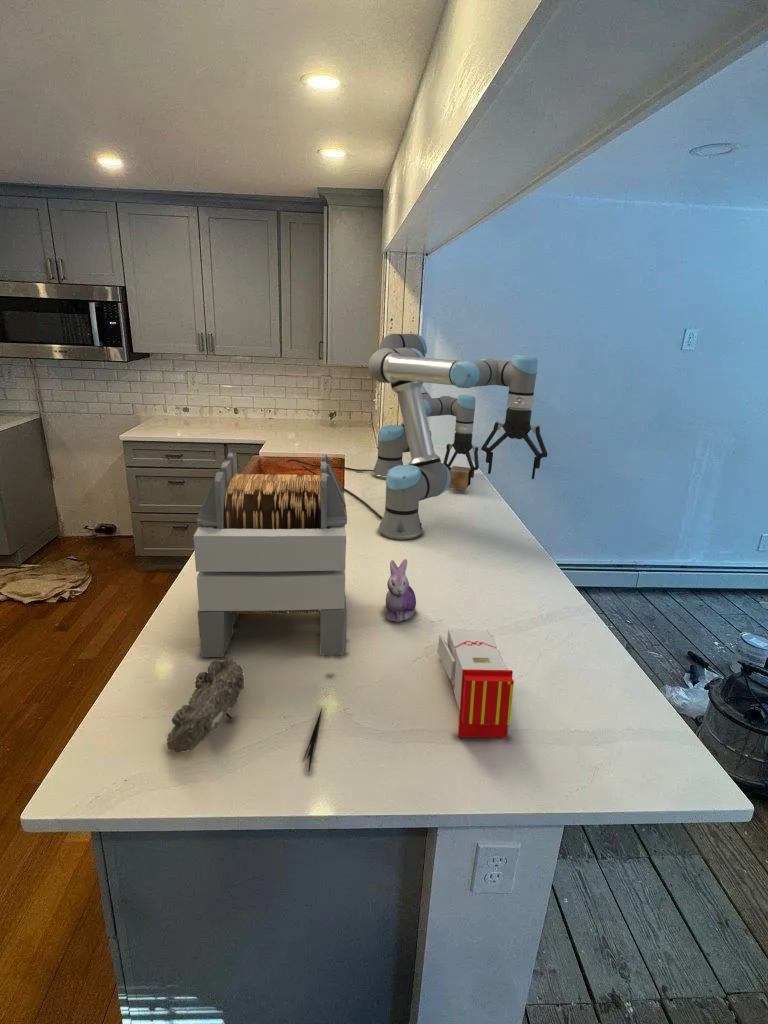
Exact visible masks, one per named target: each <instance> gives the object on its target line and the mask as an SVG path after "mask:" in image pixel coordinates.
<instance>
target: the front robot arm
mask: <svg viewBox="0 0 768 1024" xmlns="http://www.w3.org/2000/svg"><path fill="white" fill-rule="evenodd" d="M538 363H539V362H538V358H537V357H536V356H532V355H520V354H518V355H513V356H512V359H511V361H510V360H509V361H508V360H501V359H494V358H482V359H480V360H461V359H444V358H430V357H425V358H424V356H423V355H422V353H421V352H420V351H418V350H416V349H414V348H407V347H404V348H384V349H380V350H379V349H377V350H376V351H375V352H374V353H372V354H371V356H370V358H369V361H368V371H369V373H370V376H371V377H372V378H373V379H374V380H375V381H376V382H378V383H383V384H390V386H391V391H393V392H395V394H397V395H396V396H397V400H398V404H399V409H400V413H401V418H402V422H404V427H405V431H406V436H407V440H408V445H409V449H410V452H409V454H410V458H411V459H410V461H409V463H408V464H403V465H404V466H403V465H400V466H396V467H393V468H391V469H390V470H389V471H388V473H387V479H385V504H384V505H385V507H384V508H385V509H384V513H383V515H382V516H381V514H380V513H378V512H377V511H376V510H375V509H374V508H373V507H372V506H371V505H369V504H368V503H367V502H366V501H364V500H363V499H362V498H360V497H359V496H357V495H356V494H354V492H352V491H350V490H348V489H346V488H345V487H343V486H341V487H342V489H343V491H344V492H347V494H349V495H351V496H352V497H354V498H355V499H356V500H358V501H360V502H361V503H362V504H363V505H365V507H367V508H368V509H369V510H370V511H371V512H372V513H374V515H376V516H377V517H378V518H379V519H380V520H381V522H379V525H378V533H379V534H380V535H381V536H382V537H385V538H387V539H389V540H395V541H410V540H415V539H418V538H420V537H421V536H422V535H423V523H421V518H420V515H419V507H420V506H419V505H420V501H423V500H426V499H430V498H434V497H438V496H440V495H442V494H444V493H445V492H447V490H448V489H449V488H448V487H449V485H450V480H451V476H450V471H449V469H448V467H446V466H445V464H443V462H442V460H441V456H439V455H437V454H436V453H435V448H434V442H433V439H432V433H431V434H430V431H431V430H430V425H429V421H428V417H427V416H426V411H425V406H424V402H423V397H422V393H421V386H422V385H424V384H434V385H445V386H455V387H456V388H459V389H470V388H475V387H488V386H501V387H505V388H507V387H508V393H507V401H506V406H507V408H506V410H505V417H504V418H505V419H504V423H503V422H499V421H495V422H494V424H493V428H492V431H491V432H490V433H489V435H488V437H487V438H486V440H485V441H484V443H483V444H482V445H481V448H480V450H481V451H482V452H485V453H486V454H485V463H487V464H488V468H487V470H488V471H487V475H491V473H492V469H493V459H494V452H493V451H494V450H495V449H496V448H497V447H498V446H499V445H500V444H501V443H503V441H504V440H506V439H507V438H508V439H510V440H511V439H512V440H513V439H514V440H515V439H517V440H524V442H526V444H527V445H528V447H529V448H530V450H531V451H532V452H533V454H534V455H535V456H534V459H533V464H532V465H533V466H532V471H531V472H532V474H531V480H535V475H536V469H540V467H541V459H543V458H547V457H548V451H547V448H546V446H545V443H544V440H543V437H542V434H541V426H540V425H539V424H537V425H533V426H532V425H531V419H532V412H533V411H532V410H531V409H532V408H533V404H534V398H535V397H534V396H535V386H536V380H537V374H538ZM502 428H503V430H504V433H503V434H502V435H501V436H499V438H498V439H496V441H495V442H493V443H492V444H491V445H490V446H489V444H490V442H491V441H492V440H493V438H494V436H495V435H496V433H497V432H498V431H499V430H501V429H502ZM531 431H532V433H533V434H535V436H536V440H537V442H538V443H537V444H538V445H539V448H540V451H541V452H540V451H539V449H538V448H537V446H536V444H535V443H534V442H533V440H532V439H531V437H530V436H529V433H530V432H531ZM488 446H489V447H488ZM301 467H302V468H303V469H304V470H306V471H308V472H309V473H311V474H312V475H313V476H314V475H319V474H318V473H316V472H314V471H312V470H311V469H309V468H308V467H307V466H305V465H304V464H303V465H301ZM320 478H321V475H320Z"/></svg>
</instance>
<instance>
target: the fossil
mask: <svg viewBox="0 0 768 1024" xmlns="http://www.w3.org/2000/svg"><path fill="white" fill-rule="evenodd" d="M243 670H244V669H243V667H242V665H240V664H237V662H236V661H235V660H234V659H232V658H231V659H227V658H226V659H224V660H223V661H222V660H217V659H212V660H211V661H210V663H209V665H208V666H207V671H201V672H199V673H198V674H197V675H196V676H195V680H194V684H195V685H194V687H195V689H194V690H193V693H192V694H191V697H190V698H189V700H188V704H184V705H182V706H181V707H180V709H177V710H176V711H175V713H174V715H173V716H172V718H171V723H172V724H173V727H172V730H171V731H170V732H168V734H167V738H166V741H167V742H166V745H167V749H168V750H169V751H173V752H174V753H176V754H178V753H182V752H188V751H189V752H192V751H193V750H195V748H196V747H197V746H199V744H200V743H201V742H203V741H204V740H205V739H206V738H207V737H208V736H209V735H210V734H211V733H212V732H214V730H215V729H217V727H218V726H219V724H220V722H221V721H222V720H223V719H224V718H225V716H226V717H227V719H229V720H233V717H232V715H230V714H229V710H230V709H231V708H234V706H235V704H236V703H237V702H238V699H239V697H240V695H241V693H242V691H243V690H245V689H244V688H245V675H244V671H243Z"/></svg>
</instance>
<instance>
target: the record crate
mask: <svg viewBox="0 0 768 1024" xmlns="http://www.w3.org/2000/svg"><path fill="white" fill-rule="evenodd" d="M320 466H321V467H320V474H318V475H314V474H313V476H312V475H311V474H303V475H302V474H300V475H299V474H279V473H278V474H275V475H274V474H273V475H272V474H271V475H270V474H269V473H268V474H267V473H266V474H263V473H256V474H255V473H251V474H249V473H246V474H244V473H238V462H237V452H234V453H233V452H227V455H226V457H225V460H223V461H222V464H221V466H220V468H219V470H218V471H216V473H215V475H214V477H213V479H212V482H211V484H210V487H209V489H208V491H207V493H206V494H205V497H204V500H203V503H202V505H201V507H200V509H199V511H198V513H197V516H196V524H197V528H196V530H195V532H194V534H193V548H194V549H193V551H194V560H195V561H194V563H195V572H196V573H197V572H198V574H197V575H196V590H197V602H198V609H197V622H198V635H199V636H198V637H199V641H200V657H201V658H204V659H205V658H206V659H208V658H210V657H211V658H223V657H224V655H225V654H226V650H227V648H228V646H229V644H230V641H231V639H232V637H233V634H234V625H235V624H236V622H237V619H238V615H240V614H241V615H242V614H245V615H248V614H249V615H252V614H253V615H254V614H255V615H256V614H288V613H289V614H301V613H302V614H305V613H306V614H309V613H311V614H312V613H313V614H314V613H317V614H318V613H319V634H320V635H319V647H320V648H319V651H320V652H319V654H320V655H321V656H324V655H327V656H330V655H336V656H342V655H344V654H346V653H347V620H348V619H347V618H348V617H347V614H348V610H347V597H346V556H347V555H346V551H347V531H346V525H347V524H348V511H347V505H346V498H345V491H344V490H343V489H342V487H343V486H342V484H341V483H340V481H339V478H338V477H337V475H336V472H335V470H334V468H332V467H333V466H332V463H331V461H330V458H329V457H328V455H327V453H320ZM320 476H321V478H320Z"/></svg>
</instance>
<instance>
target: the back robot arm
mask: <svg viewBox="0 0 768 1024" xmlns="http://www.w3.org/2000/svg"><path fill="white" fill-rule="evenodd" d="M404 347H407V348H414V349H416V350H418V351H420V352H421V353H422V355H423V356H424V358H426V357H427V354H428V347H427V343H426V340H425V339H424V338H423V336H421V335H420V334H417V333H390V334H387V335H386V336H385V337H384V338H383V339H382V340H381V342H380V344H379V348H378V350H380V349H384V348H404ZM421 393H422V397H423V402H424V406H425V411H426V416H427V418H429V417H438V416H452V417H455V427H454V431H455V432H454V437H453V438H454V439H453V442H452V443H447V444H446V446H445V447H446V451H445V455H444V459H443V462H442V463H443V464H445V466H446V467H448V469H449V471H450V470H451V468H452V467H453V466H452V464H453V462H454V461H455V459H456V457H457V455H464V456H465V457H466V459H467V463H468V465H469V468H471V470H470V471H469V479H468V486H469V487H470V486H471V482H472V479H474V476H475V472H476V471H478V470H479V468H480V465H479V464H480V463H479V453H478V451H479V446H476V445H475V446H474V445H473V432H474V425H475V424H474V423H475V422H474V421H475V411H476V397H475V396H474V395H469V394H459V395H458V396H457V397H452V396H450V395H441V396H440V397H432V396H431V395H430V394H429V392H428V391H427V390H426V388H425V386H424V384H422V386H421ZM430 434H431V435H432V431H431V430H430ZM452 448H453V449H454V453H453V454H452V456H451V458H450V460H449V457H450V452H451V450H452ZM471 450H472V452H473V456H474V458H473V459H474V462H473V460H472V456H471V452H470V451H471ZM403 453H404V454H405V453H410V449H409V445H408V440H407V436H406V431H405V427H404V422H403V421H402V422H401V424H388V425H384V426H382V427H380V429H379V430H378V435H377V460H376V462H375V465H374V467H373V469H357V468H351V467H346V466H332V468H333V469H344V470H350V471H354V472H372V476H373V477H374V478H377V479H381V480H386V479H387V473H388V471H389V470H390V469H391V468H393V467H396V466H400V465H403V466H404V465H405V464H404V461H403ZM448 460H449V462H448ZM286 462H287V463H289V462H297V463H300V464H303V465H307V466H310V467H314V468H315V467H316V468H321V465H317V464H312V463H308V462H305V461H301V460H297V459H294V458H291V459H288V460H287V461H286ZM451 466H452V467H451Z"/></svg>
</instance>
